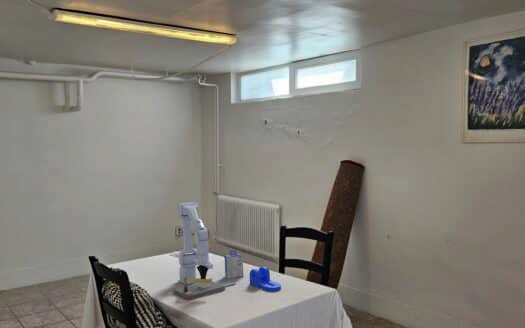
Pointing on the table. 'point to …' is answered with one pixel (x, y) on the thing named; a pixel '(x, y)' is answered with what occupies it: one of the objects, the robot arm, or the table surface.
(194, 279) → the brass flat bar
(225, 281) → the mat
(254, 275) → the bracket
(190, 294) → the grey panel
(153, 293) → the table surface
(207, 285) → the plug
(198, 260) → the robot arm
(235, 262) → the ink cartridge box
